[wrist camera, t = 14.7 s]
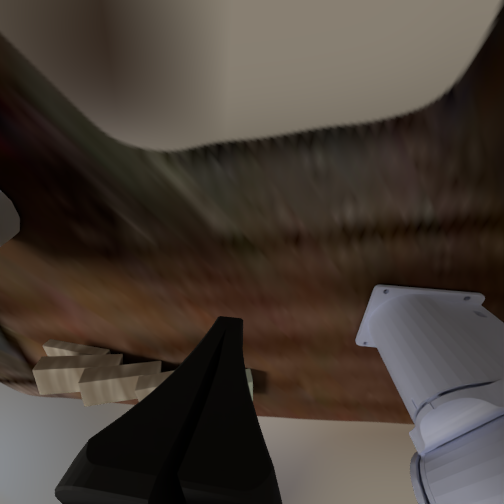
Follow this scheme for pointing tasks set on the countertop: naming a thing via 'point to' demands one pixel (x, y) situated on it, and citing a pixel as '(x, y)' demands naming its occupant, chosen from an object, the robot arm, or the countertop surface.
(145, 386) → the domino
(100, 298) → the countertop surface
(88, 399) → the domino
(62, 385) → the domino
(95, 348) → the domino
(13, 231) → the potted plant
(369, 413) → the countertop surface
